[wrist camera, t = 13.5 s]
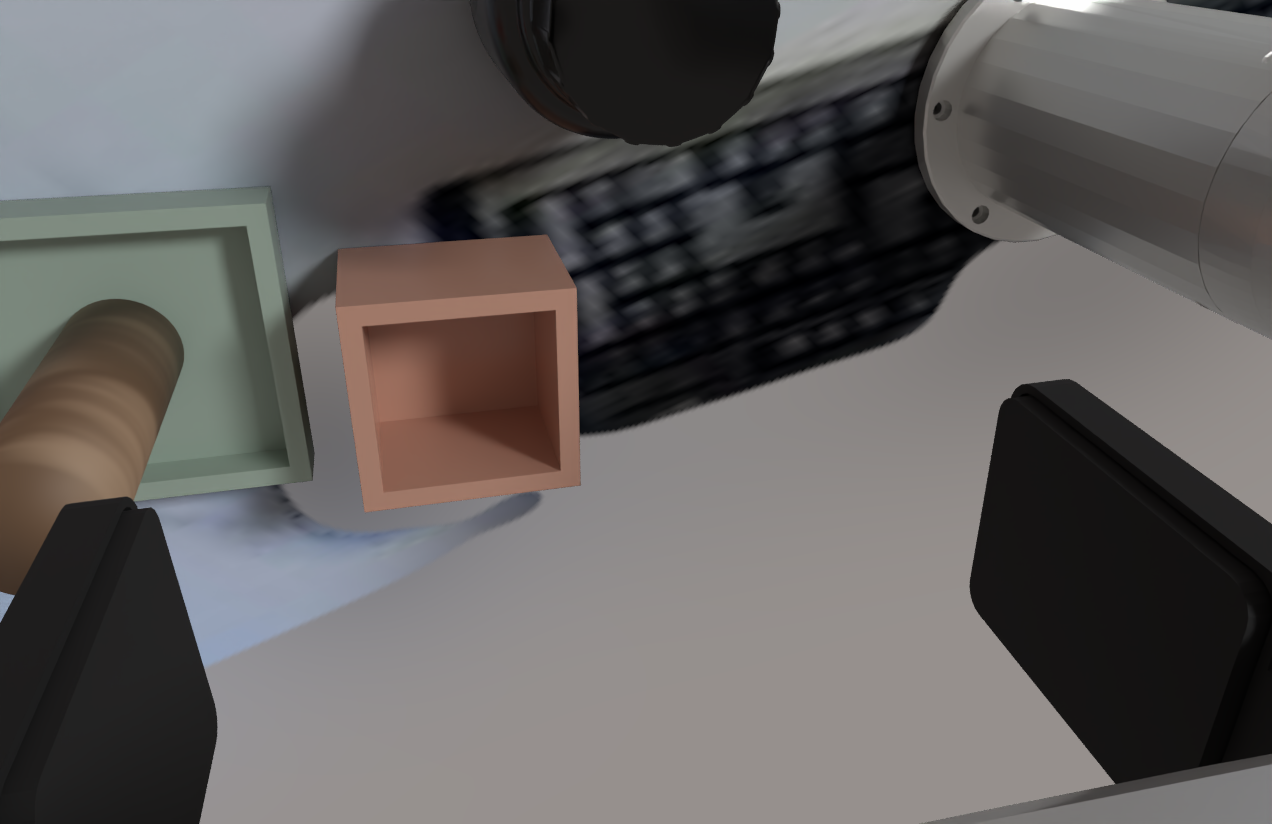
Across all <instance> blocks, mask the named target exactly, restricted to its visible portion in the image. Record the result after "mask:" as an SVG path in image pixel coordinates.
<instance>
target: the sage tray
mask: <svg viewBox="0 0 1272 824" xmlns="http://www.w3.org/2000/svg"><path fill="white" fill-rule="evenodd" d="M106 299H126V300H131V301H136V302H139V303H142V304H145V305H147V306H149V307H151V308H153V309H155V310H156V311H158V312H159V313H161V314H162V315H163V316H165V317H166V318H167V319H168V320H169V321H170V322H171V324H172V325H173V326H174V327H175V329H176V330H177V332H178V334H179V336H180V338H181V340H182V344H183V348H184V363H183V367H182V370H181V373H180V376H179V378H178V381H177V384H176V387H175V389H174V392H173V395H172V397H171V400H170V403H169V406H168V408H167V411H166V414H165V417H164V419H163V422H162V425H161V427H160V430H159V433H158V436H157V438H156V441H155V444H154V447H153V449H152V452H151V455H150V457H149V460H148V463H147V466H146V468H145V471H144V474H143V477H142V479H141V482H140V485H139V487H138V490H137V493H136V496H135V498H134V501H142V500H151V499H159V498H168V497H176V496H185V495H193V494H202V493H210V492H219V491H227V490H236V489H245V488H253V487H262V486H270V485H279V484H287V483H296V482H304V481H312V480H313V465H314V447H313V441H312V435H311V429H310V423H309V417H308V411H307V406H306V399H305V393H304V387H303V381H302V375H301V369H300V363H299V357H298V352H297V345H296V339H295V333H294V327H293V321H292V314H291V308H290V302H289V296H288V290H287V284H286V278H285V272H284V266H283V260H282V254H281V248H280V242H279V236H278V230H277V224H276V218H275V212H274V206H273V200H272V194H271V188H270V186H268V187H249V188H231V189H212V190H193V191H175V192H156V193H138V194H119V195H101V196H82V197H64V198H45V199H27V200H8V201H0V422H1V421H2V419H3V418H4V417H5V415H6V414H7V412H8V411H9V409H10V408H11V406H12V405H13V403H14V402H15V400H16V399H17V397H18V396H19V394H20V393H21V391H22V390H23V388H24V387H25V385H26V384H27V382H28V381H29V379H30V378H31V376H32V375H33V373H34V372H35V370H36V369H37V367H38V366H39V364H40V363H41V361H42V360H43V358H44V357H45V355H46V354H47V352H48V351H49V349H50V348H51V346H52V345H53V343H54V342H55V340H56V339H57V337H58V336H59V334H60V333H61V332H62V330H63V329H64V327H65V326H66V324H67V323H68V321H69V320H70V318H71V317H72V316H73V315H74V314H75V313H76V312H77V311H79V310H80V309H81V308H83V307H85V306H87V305H89V304H91V303H94V302H97V301H101V300H106Z"/></svg>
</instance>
